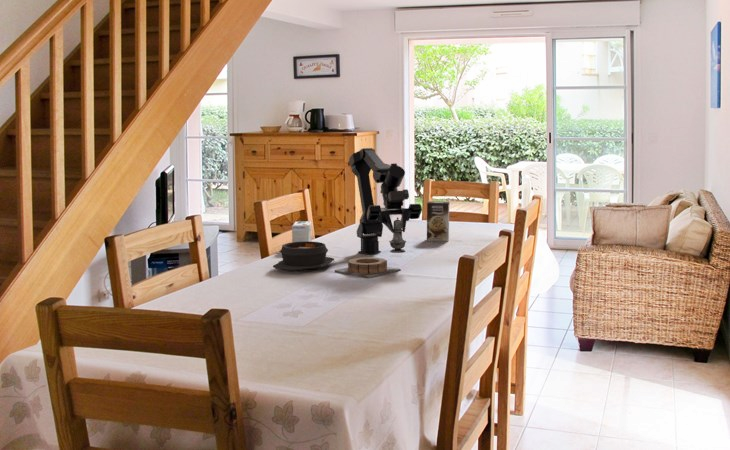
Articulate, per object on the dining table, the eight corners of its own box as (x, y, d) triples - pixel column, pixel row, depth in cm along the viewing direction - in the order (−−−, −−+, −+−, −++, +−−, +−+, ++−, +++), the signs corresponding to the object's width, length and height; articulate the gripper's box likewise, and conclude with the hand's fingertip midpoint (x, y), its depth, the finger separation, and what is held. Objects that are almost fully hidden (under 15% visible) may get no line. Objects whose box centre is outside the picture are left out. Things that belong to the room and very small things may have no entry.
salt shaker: (405, 253, 279) (405, 218, 277) (388, 252, 280) (387, 218, 278) (407, 250, 284) (407, 216, 282) (390, 249, 285) (390, 215, 284)
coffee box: (426, 241, 337) (426, 202, 335) (427, 238, 344) (427, 200, 341) (448, 241, 336) (448, 203, 333) (449, 239, 342) (449, 201, 340)
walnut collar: (334, 271, 279) (334, 261, 278) (366, 264, 290) (366, 254, 290) (369, 278, 268) (368, 267, 267) (400, 270, 280) (400, 260, 279)
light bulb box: (295, 247, 327) (294, 221, 325) (312, 247, 327) (311, 220, 325) (292, 252, 317) (291, 225, 315) (309, 252, 316) (308, 224, 315)
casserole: (306, 259, 302) (305, 237, 300) (346, 265, 291) (346, 241, 290) (260, 271, 281) (259, 247, 280) (302, 277, 271) (301, 252, 269)
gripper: (368, 182, 280) (375, 219, 271) (420, 180, 284) (429, 216, 275) (363, 202, 289) (370, 238, 280) (414, 200, 293) (422, 235, 284)
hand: (398, 231), depth 280 cm, fingers closed on salt shaker, 4 cm apart
